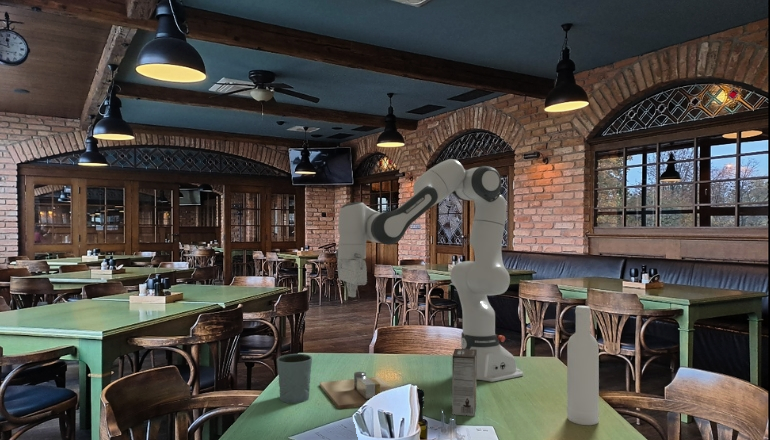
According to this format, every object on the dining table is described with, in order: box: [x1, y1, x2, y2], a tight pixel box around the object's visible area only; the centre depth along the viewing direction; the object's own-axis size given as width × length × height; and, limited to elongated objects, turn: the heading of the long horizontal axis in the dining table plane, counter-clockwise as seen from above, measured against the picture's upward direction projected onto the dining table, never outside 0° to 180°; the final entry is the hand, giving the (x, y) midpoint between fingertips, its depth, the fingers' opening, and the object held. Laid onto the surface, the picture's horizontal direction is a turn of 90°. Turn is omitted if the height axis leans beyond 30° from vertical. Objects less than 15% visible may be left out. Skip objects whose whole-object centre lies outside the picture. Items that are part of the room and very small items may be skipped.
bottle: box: [566, 305, 600, 426], centre depth 138 cm, size 8×8×30 cm
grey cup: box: [276, 353, 313, 404], centre depth 154 cm, size 10×10×12 cm
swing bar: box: [353, 371, 375, 399], centre depth 156 cm, size 12×4×5 cm, turn 21°
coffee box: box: [451, 348, 477, 417], centre depth 145 cm, size 9×6×16 cm
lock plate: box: [319, 376, 393, 410], centre depth 159 cm, size 20×23×5 cm
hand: (351, 296), depth 165 cm, fingers closed
